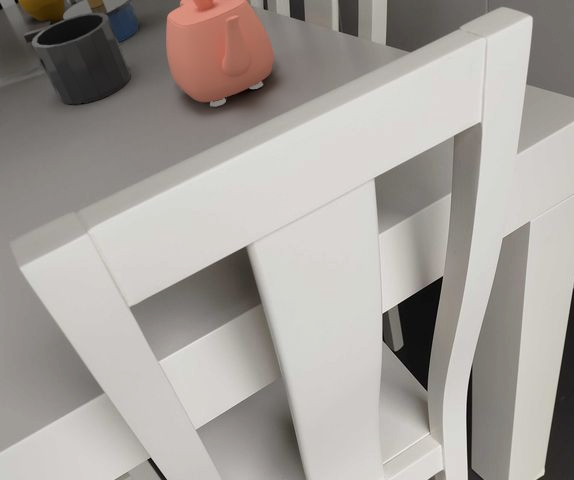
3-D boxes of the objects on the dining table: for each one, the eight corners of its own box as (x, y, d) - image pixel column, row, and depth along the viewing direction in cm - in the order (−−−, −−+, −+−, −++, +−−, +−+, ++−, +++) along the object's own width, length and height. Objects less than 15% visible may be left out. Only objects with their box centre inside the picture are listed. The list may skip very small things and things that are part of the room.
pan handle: (27, 43, 105) (23, 36, 104) (27, 40, 106) (24, 33, 106) (69, 29, 105) (66, 22, 104) (70, 27, 106) (67, 19, 105)
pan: (77, 56, 104) (64, 29, 101) (79, 34, 112) (68, 8, 109) (140, 36, 104) (129, 9, 100) (138, 16, 112) (128, -10, 108)
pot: (57, 112, 89) (28, 55, 83) (62, 82, 97) (35, 28, 91) (131, 90, 89) (107, 30, 82) (130, 61, 97) (108, 5, 90)
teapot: (214, 134, 74) (182, 33, 65) (164, 86, 87) (131, -4, 78) (307, 93, 76) (287, -11, 67) (244, 52, 89) (221, -39, 80)
